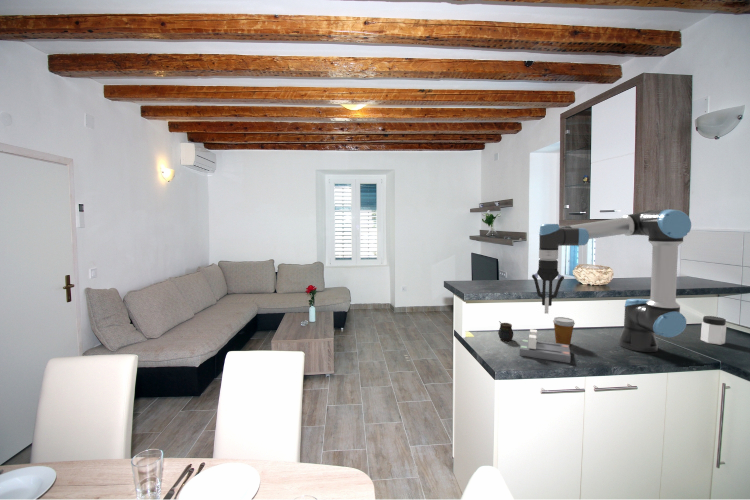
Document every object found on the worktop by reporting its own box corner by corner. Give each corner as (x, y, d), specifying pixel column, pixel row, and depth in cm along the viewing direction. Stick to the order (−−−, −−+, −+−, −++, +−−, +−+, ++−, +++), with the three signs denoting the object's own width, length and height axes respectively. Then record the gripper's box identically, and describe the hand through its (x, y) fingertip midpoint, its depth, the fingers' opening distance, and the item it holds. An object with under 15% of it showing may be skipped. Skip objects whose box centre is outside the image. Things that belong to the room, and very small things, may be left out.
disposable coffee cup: (576, 347, 172) (577, 322, 171) (555, 346, 174) (556, 321, 173) (570, 340, 182) (571, 317, 180) (549, 339, 183) (550, 316, 182)
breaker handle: (536, 340, 172) (537, 329, 172) (536, 342, 169) (536, 332, 168) (529, 339, 173) (530, 329, 173) (529, 341, 170) (529, 331, 169)
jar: (706, 337, 185) (708, 314, 184) (727, 342, 178) (729, 319, 177) (697, 340, 181) (699, 317, 180) (718, 345, 174) (720, 321, 173)
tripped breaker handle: (536, 346, 164) (536, 335, 164) (535, 349, 160) (536, 338, 160) (528, 345, 165) (529, 334, 165) (528, 348, 162) (528, 337, 161)
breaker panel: (568, 351, 168) (568, 344, 167) (570, 362, 154) (570, 355, 154) (521, 344, 176) (522, 338, 176) (519, 355, 163) (519, 348, 162)
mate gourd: (516, 340, 182) (517, 321, 181) (505, 343, 179) (505, 323, 178) (506, 336, 188) (506, 317, 187) (494, 338, 185) (495, 319, 184)
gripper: (531, 259, 157) (529, 313, 159) (565, 261, 151) (563, 316, 153) (532, 257, 163) (530, 309, 165) (564, 259, 158) (562, 312, 160)
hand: (546, 312), depth 159 cm, fingers closed
